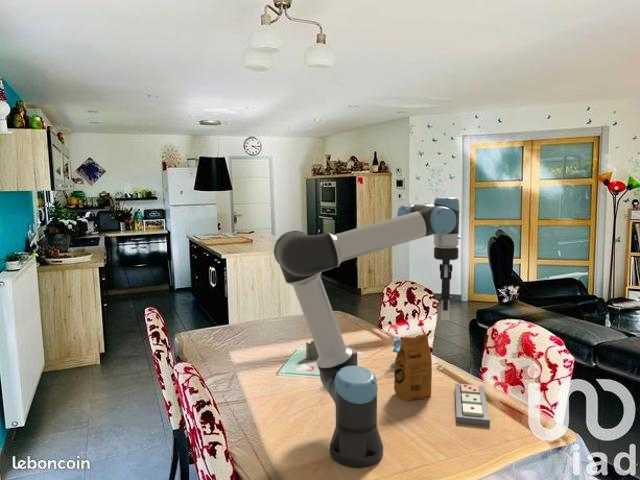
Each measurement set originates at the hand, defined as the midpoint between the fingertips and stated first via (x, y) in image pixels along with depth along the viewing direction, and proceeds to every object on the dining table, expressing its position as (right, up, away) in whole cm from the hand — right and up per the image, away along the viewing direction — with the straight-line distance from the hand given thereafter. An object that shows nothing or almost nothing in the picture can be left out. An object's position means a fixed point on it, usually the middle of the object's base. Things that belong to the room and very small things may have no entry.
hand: (445, 319), depth 154 cm
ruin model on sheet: (-40, -27, +60) cm, 77 cm away
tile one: (+9, -32, +2) cm, 33 cm away
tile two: (+11, -31, +10) cm, 34 cm away
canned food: (-29, -29, +36) cm, 55 cm away
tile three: (+13, -30, +18) cm, 37 cm away
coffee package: (-7, -31, +20) cm, 37 cm away
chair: (-5, -27, +48) cm, 56 cm away
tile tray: (+11, -31, +10) cm, 35 cm away
